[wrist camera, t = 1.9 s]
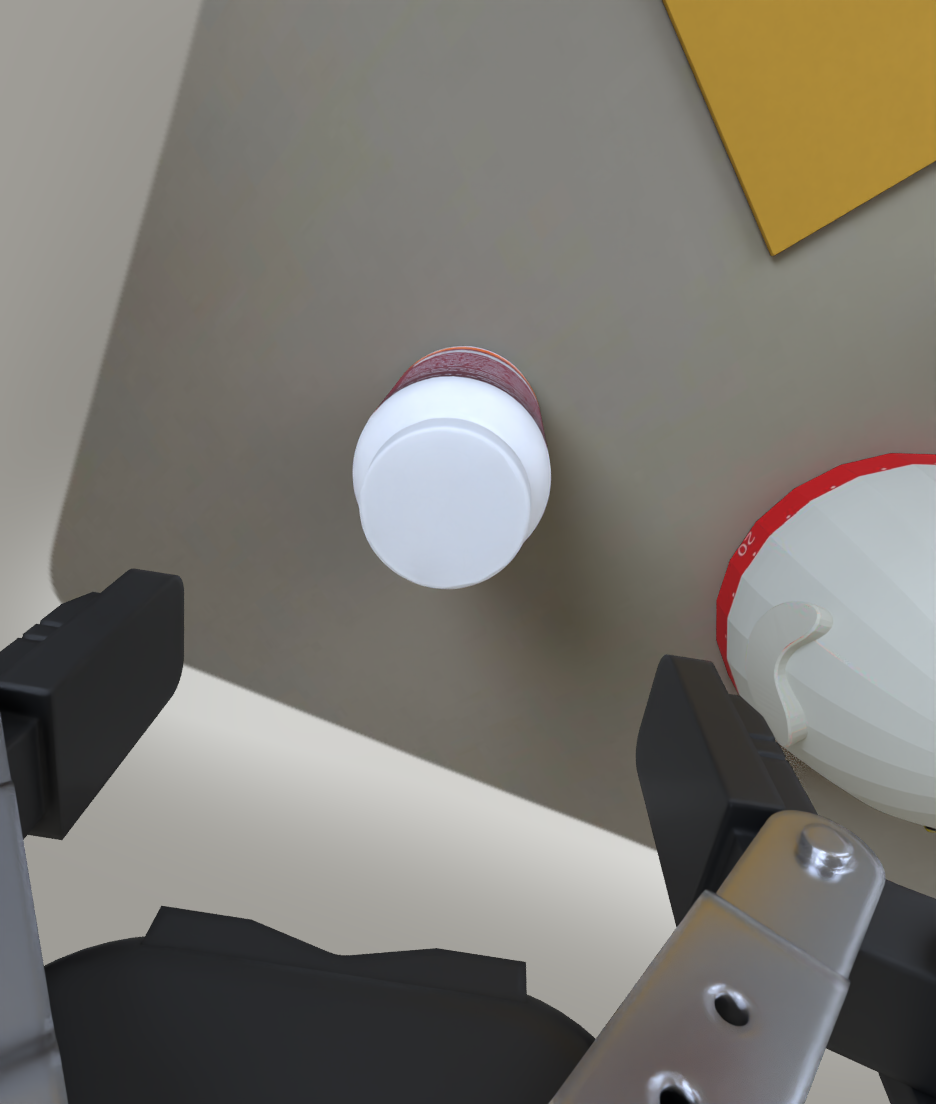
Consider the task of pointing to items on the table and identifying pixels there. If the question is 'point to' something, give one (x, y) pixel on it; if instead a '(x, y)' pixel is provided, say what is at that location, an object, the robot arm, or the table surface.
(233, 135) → the table surface
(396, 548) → the pill bottle
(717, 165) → the table surface
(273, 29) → the table surface
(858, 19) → the cloth
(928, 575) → the kitchen timer
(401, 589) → the table surface
